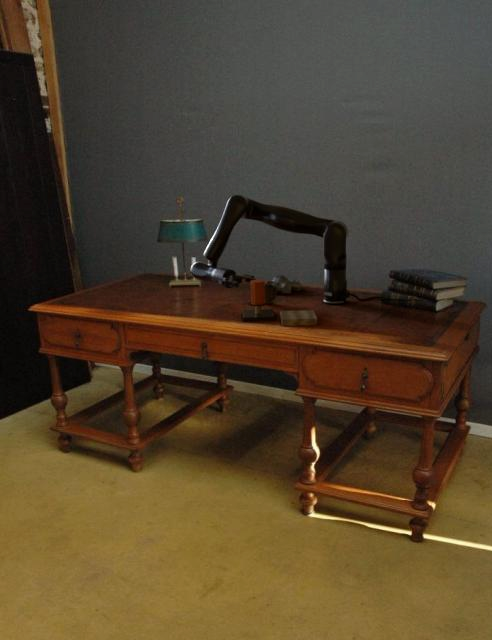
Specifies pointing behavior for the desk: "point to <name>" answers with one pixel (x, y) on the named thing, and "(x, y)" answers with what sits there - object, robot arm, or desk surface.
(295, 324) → the grey stone tile
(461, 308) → the desk surface
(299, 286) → the fossil
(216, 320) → the desk surface
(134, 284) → the desk surface
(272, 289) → the dark ridged round part
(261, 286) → the hat
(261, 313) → the hat stand
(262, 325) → the desk surface
